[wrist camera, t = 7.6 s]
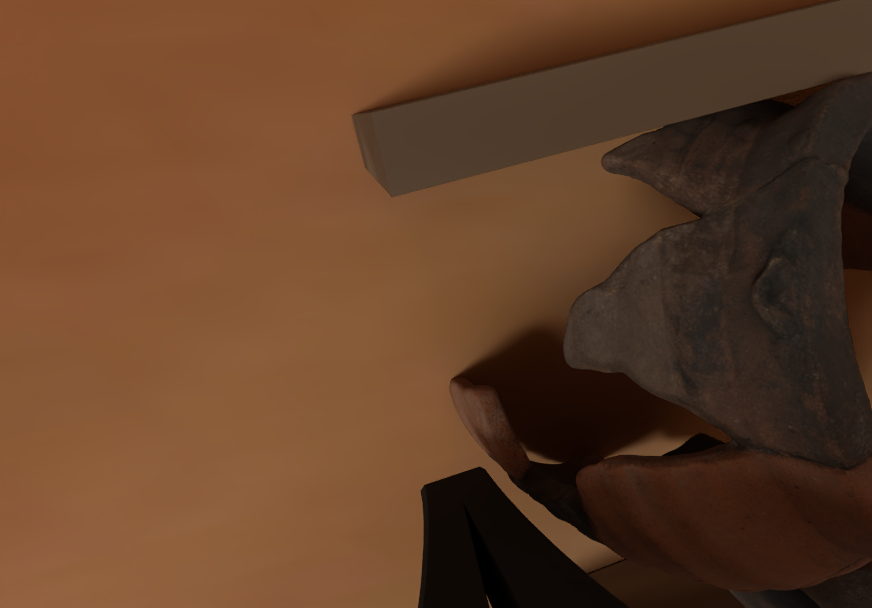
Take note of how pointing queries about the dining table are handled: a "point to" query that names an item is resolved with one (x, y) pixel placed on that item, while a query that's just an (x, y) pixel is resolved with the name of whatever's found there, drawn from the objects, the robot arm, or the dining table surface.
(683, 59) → the box
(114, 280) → the dining table surface
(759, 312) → the brown hollow ring part
